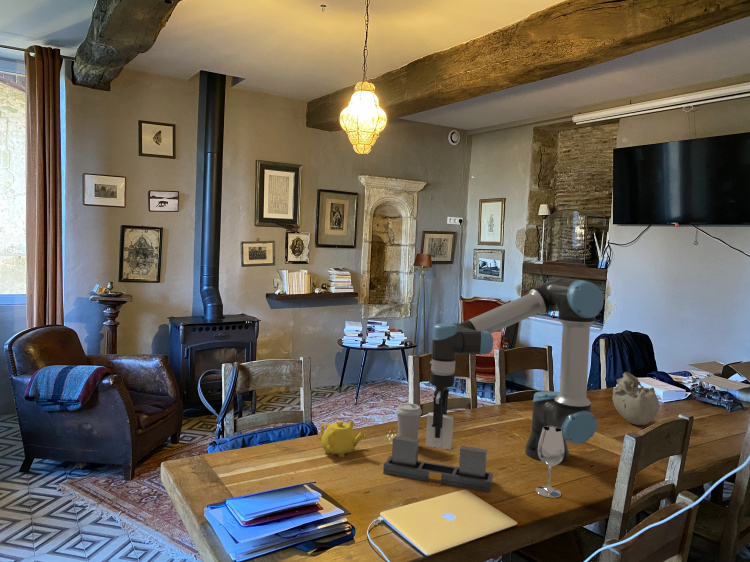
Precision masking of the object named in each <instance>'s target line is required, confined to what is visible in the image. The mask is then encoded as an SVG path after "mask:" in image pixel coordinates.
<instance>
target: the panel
mask: <svg viewBox="0 0 750 562" xmlns="http://www.w3.org/2000/svg"><path fill="white" fill-rule="evenodd" d="M454 418H455V416H454V415H451V414H447V415H445V414H443V422H442V427H443V435H442V448H441V449H445V450H451V449H452V448H453V438H454ZM432 425H433V412H429V411H428V413H427V414H426V429H425V430H426V432H425V446H426V447H432V448H434V447H433V437H434V427H432Z"/></svg>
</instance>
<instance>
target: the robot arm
mask: <svg viewBox="0 0 750 562" xmlns="http://www.w3.org/2000/svg"><path fill="white" fill-rule="evenodd" d="M602 292H603V291H601V289H600V288H599V287H598V285H596V284H595V283H593V282H591V281H590V282H589V281H586V280H583V279H573V278H572V279H570V278H565V277H564V278H561V277H560V278H556V279H554V280H551V281H547V282H545V283H543V284H540V285H539V286H536V287H534V288H532V289H530V290H529V292H528V294H525V295H523V296H521V297H519V298H516V299H514V300H511V301H509V302H506V303H505V304H502V305H500V306H497V307H495V308H493V309H490V310H488V311H486V312H484V313H481V314H478V315H477V316H474V317H472V318H470V319H466V320H464V321H462V322H460V323H459V322H458V323H457V322H455V323H436V324H435V325H434V326H433V331H432V337H431V340H432V345H431V360H430V361H429V364H430V365H431V366H430V370H431V372H430V376H429V377H430V379H429V382H430V385H431V386H435V387H436V389H435V390H434V393H433V399H432V400H433V401H432V402H433V412H432V413H433V425H432V427H434V437H433V447H432V448H438V449H443V448H442V435H443V427H442V422H443V414H445V415H448V404H449V403H448V402H449V395H450V393H449V392H450V388H451V387H454V385H455V374H454V373H455V372H456V356H457V355H479V356H482V355H489V354H491V352H492V350H493V349H494V348H493V347H494V337H493V335H492V334H494V333H496V332H498V331H501V330H503V329H505V328H508V327H510V326H512V325H514V324H517V323H520V322H522V321H524V320H526V319H529V318H530V317H533V316H535V315H541V316H542V315H545V314H547V313H551V312H552V313H553V312H558V320H557V321H559V322H560V323H561V324H562V331H561V355H560V356H561V357H560V377H559V391H549V390H548V391H545V390H544V391H537V392H535V393H533V399H532V414H531V415H532V416H531V417H532V418H531V432H530V434H529V437H528V439H527V442H526V444H525V450H524V452H525V454H526V455H527V456H528V457H530V458H533V459H535V460H537V461H541V459H540V458H539V456H538V443H539V439H540V436H541V432H542V429H543V427H544V426H554V427H558V428H560V429H561V430H562V434H563V441H564V458H563V460H562V461H561V462H560V463H563V462H566V461H568V460H569V457H570V456H569V455H570V450H569V447H568V443H567V442H570V443H572V444H577V445H579V444H584V443H586V442H588V441H590V439H591V438H593V436H594V435H595V433H596V432H597V429H598V422H597V421H598V420H597V418H596V417H595V415H594V414H593V413H592V412H591V408H592V402H591V400H590V399H589V398H588V397H587V393H588V392H587V391H588V375H589V374H588V370H589V354H590V353H589V351H590V331H591V330H590V329H591V327H592V325H593V324H595V323H596V316H598V315H599V314H600V312H601V311H602V310H603V307H604V295H603V293H602Z"/></svg>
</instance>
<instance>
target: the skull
mask: <svg viewBox="0 0 750 562" xmlns="http://www.w3.org/2000/svg"><path fill="white" fill-rule="evenodd" d="M616 384H617V385H616V386H614V388H613V389H612V402H613V405H614V407H615V410H616V411H617V412H618V414H619V415H620V416H621V417H622V418H623V419H625V421H627V422H629V423H631V424H633V425H636V426H644V425H645V426H646V425H647V424H649V423H650V422H651V421H652V420H654V418H655V417H656V415H658V412H659V409H660V407H661V406H660V402H659V398H658V396H657V394H656V390H655V387H650V388H649V387H644V385H642V384H641V381H639V378H638V377H637V376H634V375H633V374H632V373H630V372H628V371H624V373H622V377H620V378H617V379H616ZM639 386H640V387H639Z"/></svg>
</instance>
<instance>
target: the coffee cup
mask: <svg viewBox="0 0 750 562" xmlns="http://www.w3.org/2000/svg"><path fill="white" fill-rule="evenodd" d="M395 412H396V413H397V436H400V437H407V438H414V439H418V436H419V429H420V421H421V415H422V414H423V411H422V409H421V406H420V405H418V404H417V403H416V404H415V403H409V402H407V403H405V402H404V403H400V404H398V406H397V408H396V410H395Z"/></svg>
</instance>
